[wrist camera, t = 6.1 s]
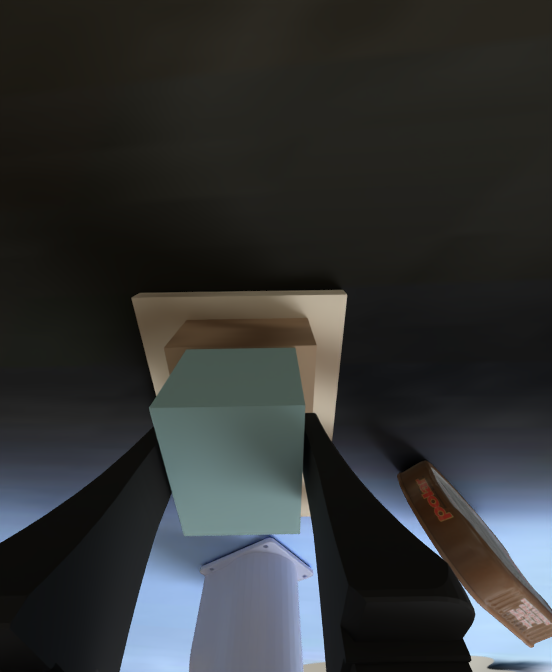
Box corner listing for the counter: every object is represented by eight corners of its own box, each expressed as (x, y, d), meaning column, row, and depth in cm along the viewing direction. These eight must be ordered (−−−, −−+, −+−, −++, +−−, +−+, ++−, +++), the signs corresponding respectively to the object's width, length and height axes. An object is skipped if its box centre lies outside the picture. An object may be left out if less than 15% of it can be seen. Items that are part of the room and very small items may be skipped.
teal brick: (205, 458, 15) (184, 536, 11) (186, 349, 12) (148, 408, 8) (293, 456, 15) (300, 533, 11) (295, 347, 12) (305, 405, 8)
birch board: (322, 504, 24) (323, 516, 23) (190, 506, 24) (187, 518, 23) (342, 289, 15) (347, 294, 15) (139, 293, 15) (131, 297, 15)
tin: (381, 454, 21) (441, 588, 14) (415, 435, 21) (500, 566, 13) (462, 534, 26) (539, 665, 19) (492, 521, 25) (587, 653, 18)
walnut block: (202, 414, 18) (187, 456, 15) (186, 319, 15) (163, 347, 12) (303, 412, 18) (310, 454, 15) (307, 318, 15) (316, 345, 12)
